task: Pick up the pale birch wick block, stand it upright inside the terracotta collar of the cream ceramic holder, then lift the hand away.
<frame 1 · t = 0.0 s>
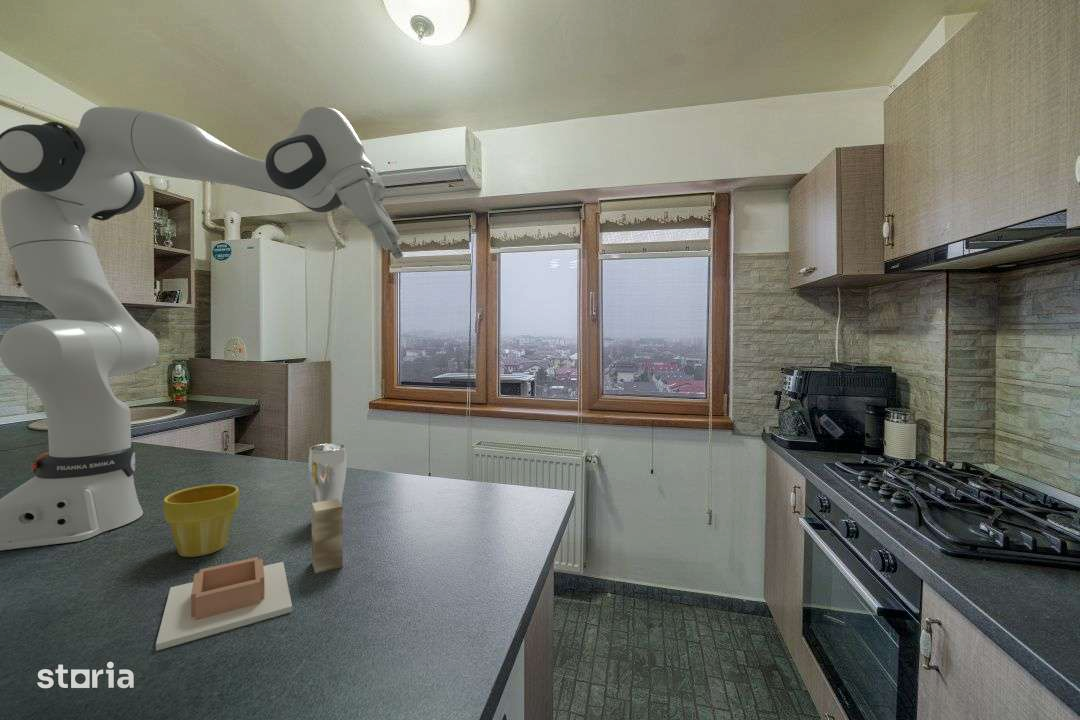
hand: (394, 253, 88), 54 cm above the worktop, tool tilted 30°, fingers open, 8 cm apart
wick holder: (229, 602, 61), on the worktop
plant pot: (203, 549, 76), on the worktop
beer glass: (327, 520, 89), on the worktop
birch wick: (327, 564, 72), on the worktop
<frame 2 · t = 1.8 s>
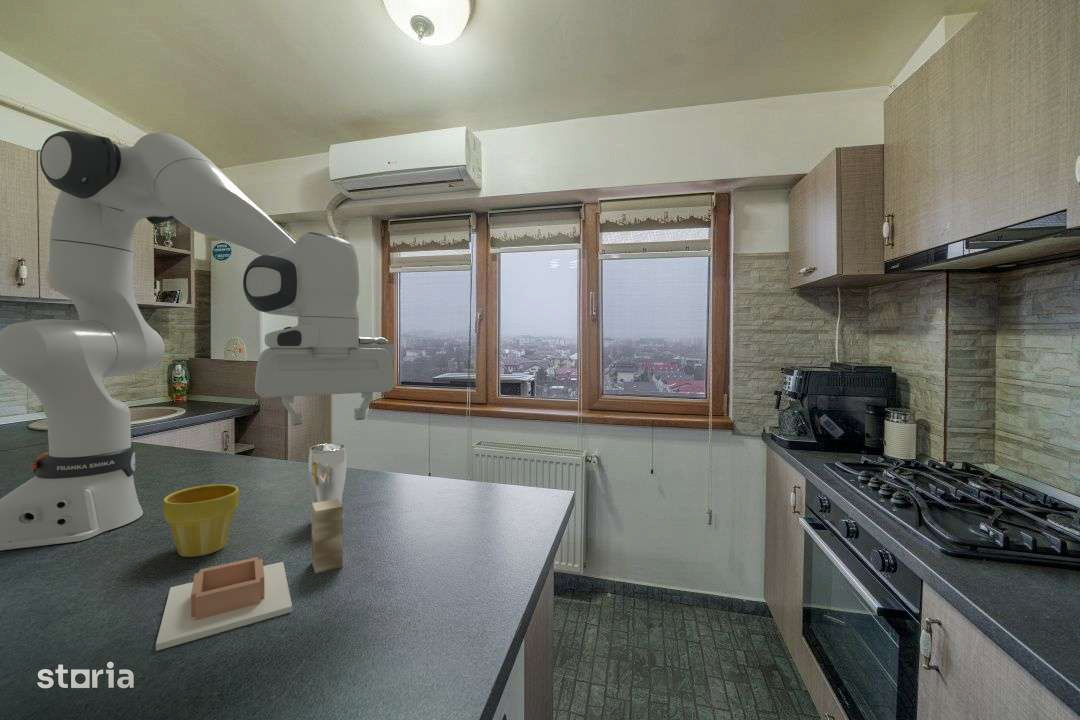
hand: (329, 422, 71), 24 cm above the worktop, tool pointing down, fingers open, 8 cm apart
nothing on the worktop moved.
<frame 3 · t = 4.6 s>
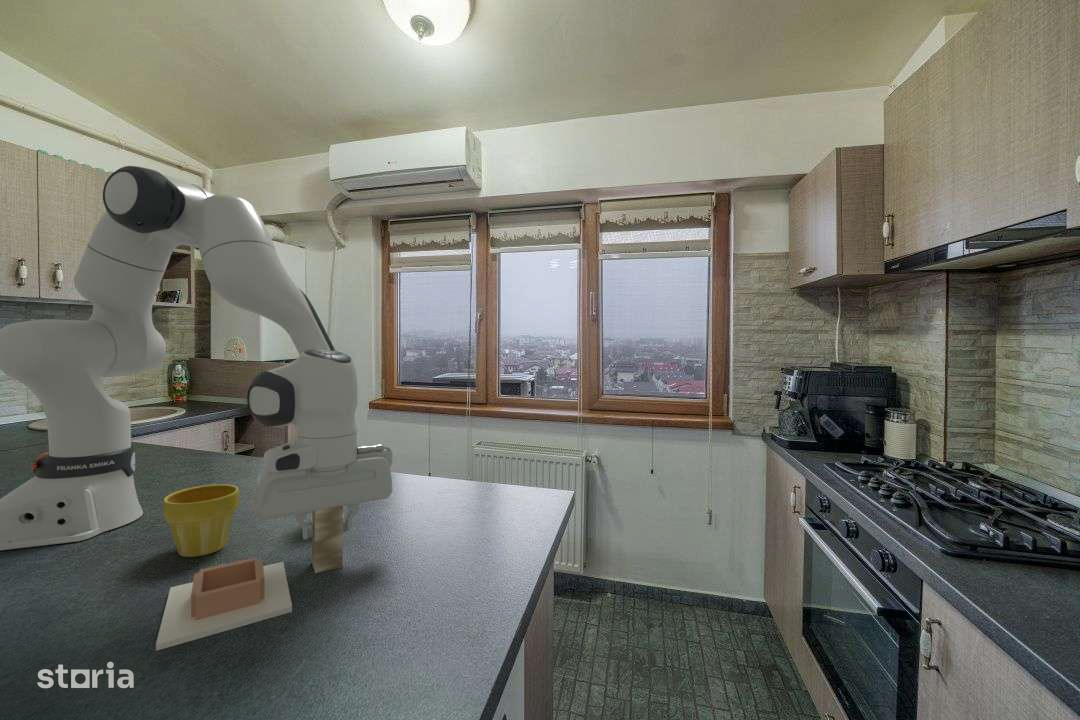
hand: (327, 534, 72), 5 cm above the worktop, tool pointing down, fingers closed on birch wick, 4 cm apart
birch wick: (327, 564, 72), on the worktop, touching gripper
everything else where it was.
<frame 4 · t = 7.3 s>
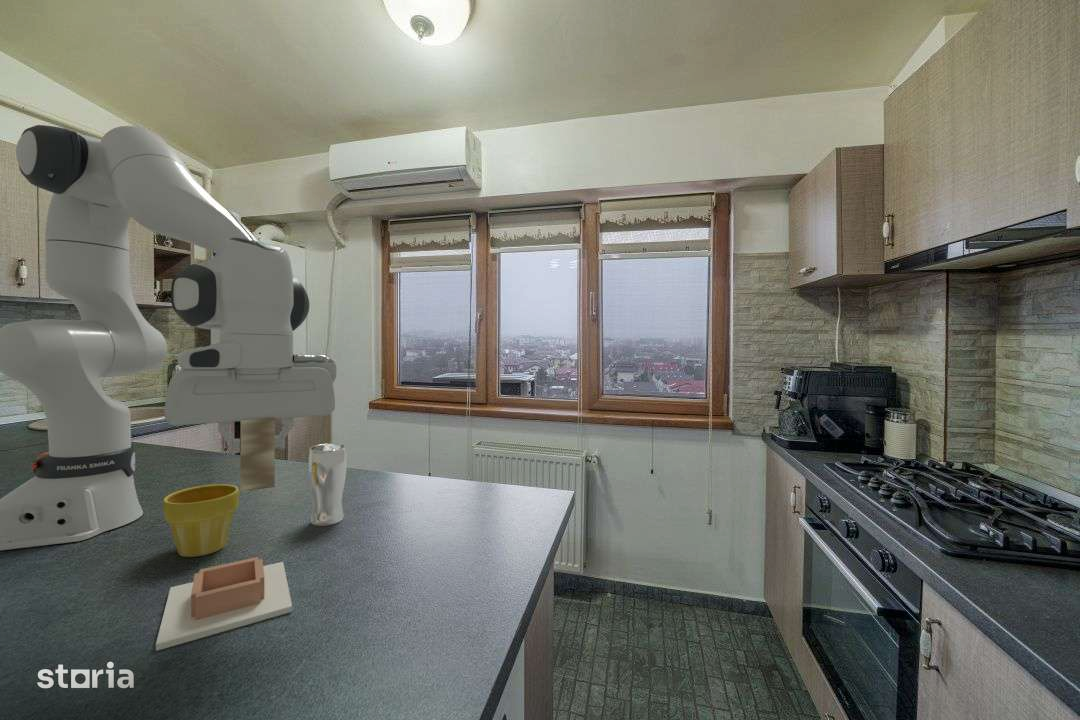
hand: (257, 450, 63), 21 cm above the worktop, tool pointing down, fingers closed on birch wick, 4 cm apart
birch wick: (257, 485, 64), point 16 cm above the worktop, touching gripper
everything else where it was.
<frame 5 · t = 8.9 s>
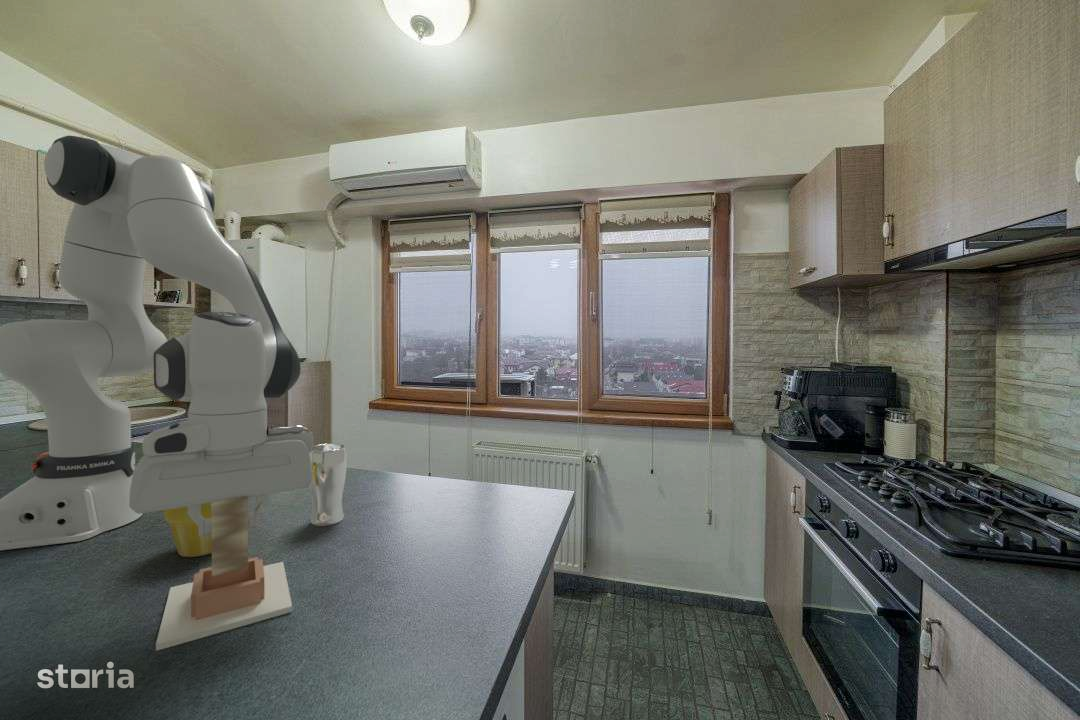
hand: (230, 529, 61), 10 cm above the worktop, tool pointing down, fingers closed on birch wick, 4 cm apart
birch wick: (230, 566, 61), point 5 cm above the worktop, touching gripper
everything else where it was.
when the fingers open (7 cm above the worktop, at t = 10.1 s): birch wick drops 1 cm, resting on wick holder.
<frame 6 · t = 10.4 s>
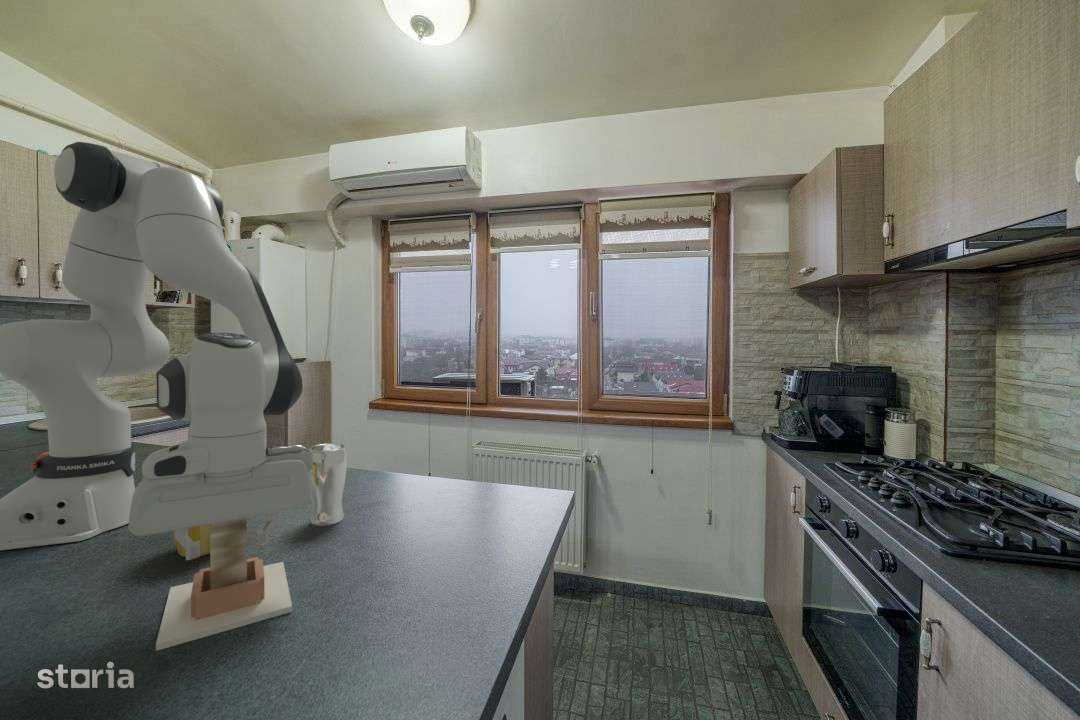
hand: (229, 550, 61), 7 cm above the worktop, tool pointing down, fingers open, 6 cm apart
birch wick: (229, 596, 61), point 1 cm above the worktop, touching wick holder
everything else where it was.
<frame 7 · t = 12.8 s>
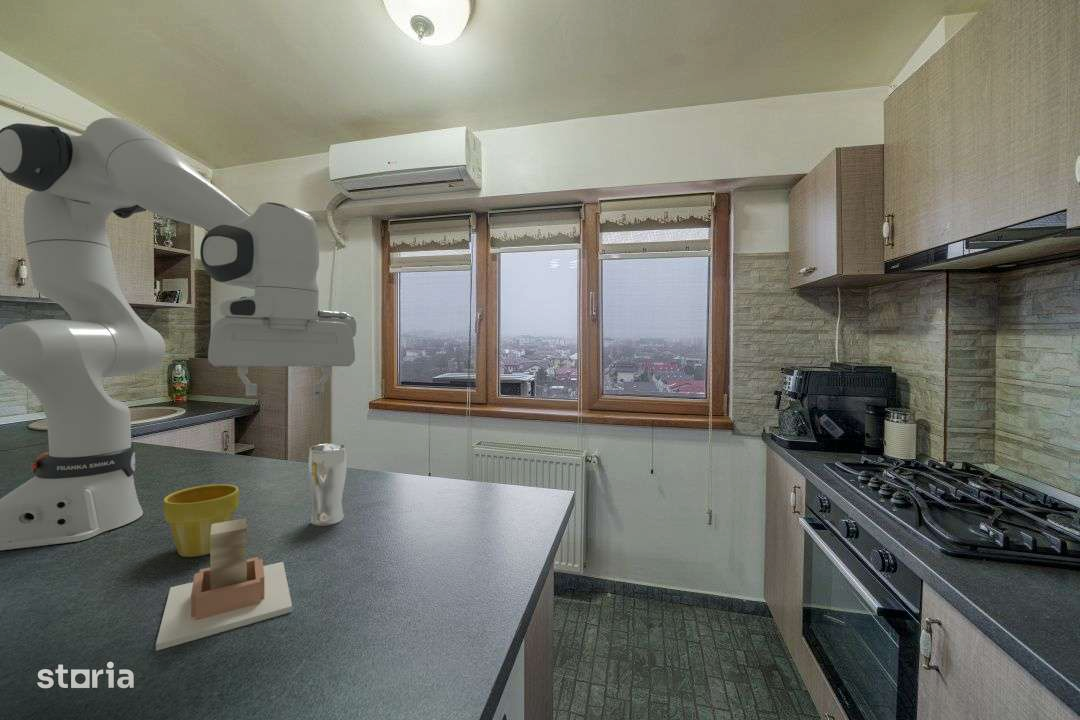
hand: (286, 394, 71), 28 cm above the worktop, tool pointing down, fingers open, 8 cm apart
nothing on the worktop moved.
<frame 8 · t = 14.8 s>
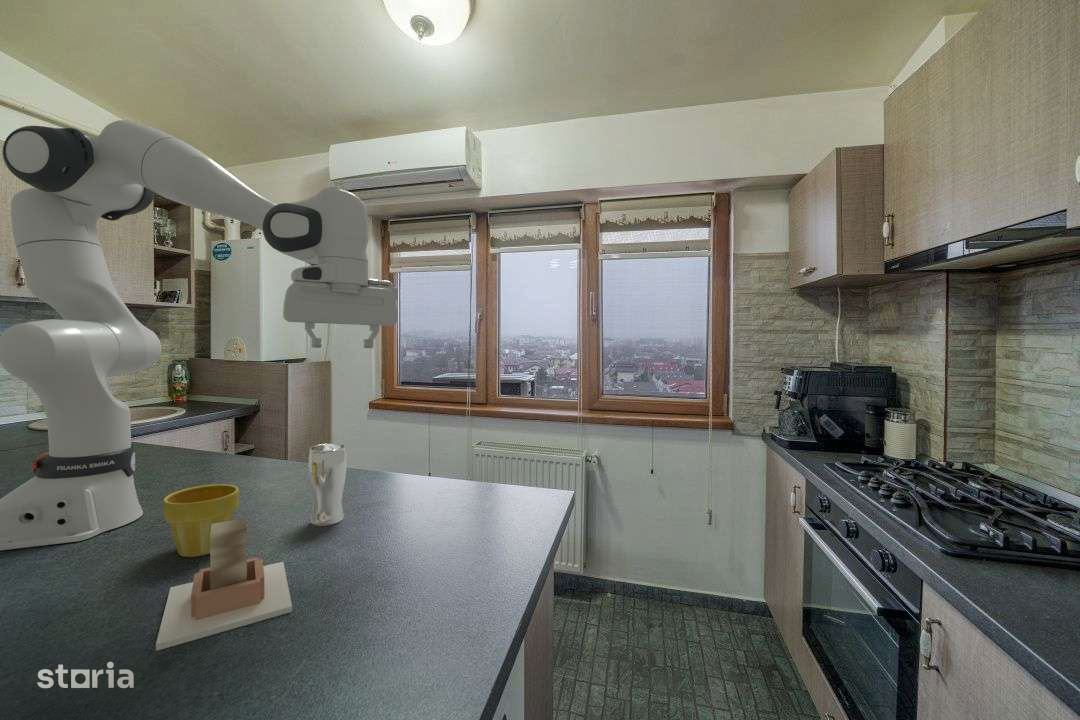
hand: (343, 347, 86), 35 cm above the worktop, tool pointing down, fingers open, 8 cm apart
nothing on the worktop moved.
at the end: birch wick 0.0 cm off-centre on the wick holder, point 0.8 cm above the wick holder's base; birch wick tilted 0°; the gripper is holding nothing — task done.
